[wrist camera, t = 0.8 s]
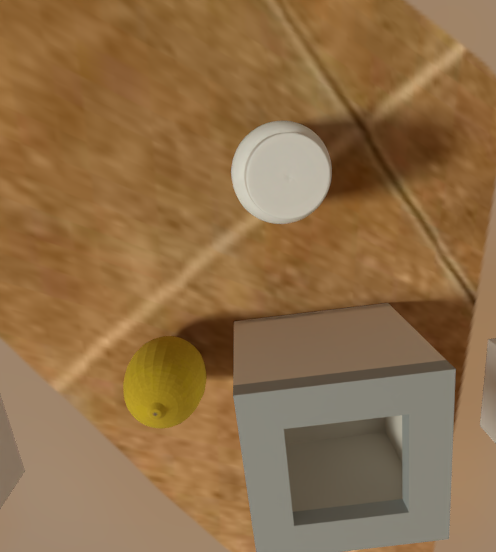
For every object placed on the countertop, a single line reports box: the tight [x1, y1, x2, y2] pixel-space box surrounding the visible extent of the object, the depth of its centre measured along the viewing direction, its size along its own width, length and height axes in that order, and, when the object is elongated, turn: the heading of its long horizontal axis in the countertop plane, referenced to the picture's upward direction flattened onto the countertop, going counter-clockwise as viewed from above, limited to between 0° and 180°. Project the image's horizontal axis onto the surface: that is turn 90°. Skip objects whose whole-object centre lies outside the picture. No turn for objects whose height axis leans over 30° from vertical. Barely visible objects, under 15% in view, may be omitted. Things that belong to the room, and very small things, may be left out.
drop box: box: [233, 303, 456, 552], centre depth 28 cm, size 12×12×10 cm
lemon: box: [123, 336, 206, 428], centre depth 28 cm, size 6×6×8 cm
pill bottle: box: [231, 121, 332, 224], centre depth 23 cm, size 5×5×10 cm
